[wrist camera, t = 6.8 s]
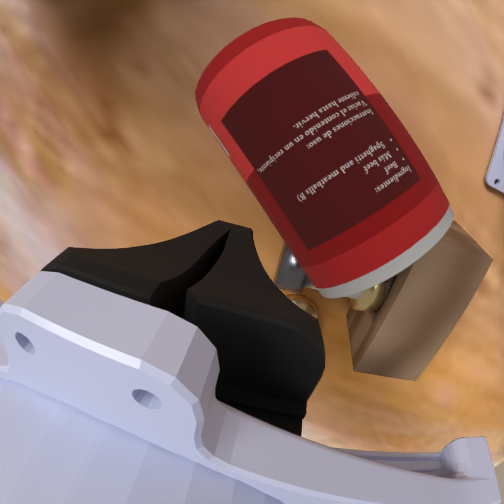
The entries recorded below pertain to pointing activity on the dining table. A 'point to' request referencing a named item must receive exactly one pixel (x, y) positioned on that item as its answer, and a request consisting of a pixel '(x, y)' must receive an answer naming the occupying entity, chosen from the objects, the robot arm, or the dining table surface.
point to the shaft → (296, 279)
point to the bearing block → (419, 309)
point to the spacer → (304, 304)
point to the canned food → (323, 155)
